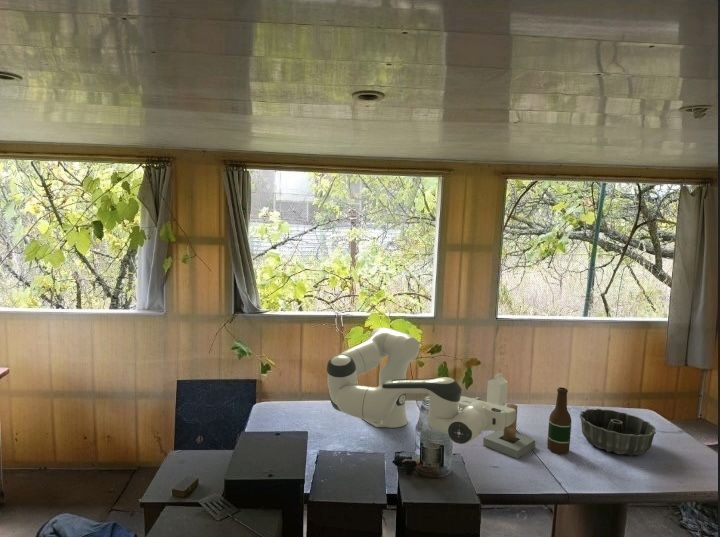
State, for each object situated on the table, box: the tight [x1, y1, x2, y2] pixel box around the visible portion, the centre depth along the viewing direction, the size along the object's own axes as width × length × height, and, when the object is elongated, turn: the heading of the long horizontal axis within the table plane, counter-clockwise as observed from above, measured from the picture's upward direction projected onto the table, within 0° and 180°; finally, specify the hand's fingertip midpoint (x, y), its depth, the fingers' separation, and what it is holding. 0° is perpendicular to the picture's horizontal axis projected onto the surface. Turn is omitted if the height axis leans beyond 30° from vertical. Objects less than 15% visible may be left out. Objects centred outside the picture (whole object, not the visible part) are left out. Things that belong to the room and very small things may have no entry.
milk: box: [486, 372, 509, 406], centre depth 201 cm, size 6×6×22 cm
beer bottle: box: [546, 386, 572, 455], centre depth 179 cm, size 8×8×24 cm
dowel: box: [503, 403, 518, 444], centre depth 181 cm, size 4×4×16 cm
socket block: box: [482, 431, 536, 459], centre depth 182 cm, size 14×14×3 cm
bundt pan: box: [579, 408, 657, 457], centre depth 186 cm, size 26×26×10 cm
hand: (492, 402), depth 169 cm, fingers open, 8 cm apart
